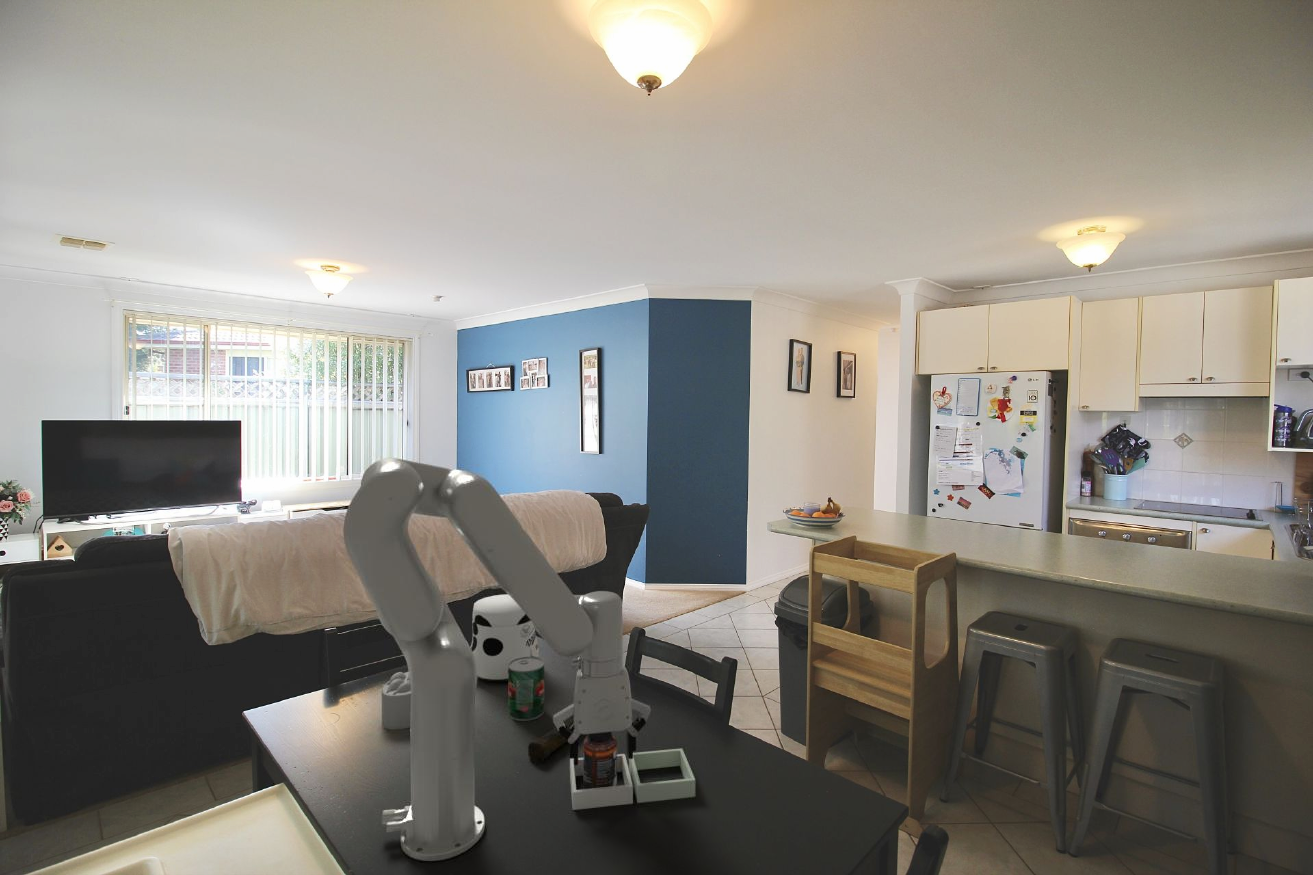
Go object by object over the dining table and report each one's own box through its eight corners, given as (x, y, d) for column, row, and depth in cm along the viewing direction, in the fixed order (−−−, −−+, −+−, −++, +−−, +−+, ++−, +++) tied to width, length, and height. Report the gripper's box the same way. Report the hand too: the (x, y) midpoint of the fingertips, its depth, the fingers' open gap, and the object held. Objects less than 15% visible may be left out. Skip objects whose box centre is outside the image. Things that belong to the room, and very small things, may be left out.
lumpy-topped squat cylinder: (449, 706, 140) (449, 668, 139) (406, 734, 128) (406, 692, 127) (413, 697, 144) (413, 661, 143) (368, 724, 132) (368, 684, 131)
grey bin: (572, 809, 104) (572, 792, 104) (569, 774, 114) (569, 758, 114) (632, 803, 106) (632, 786, 106) (624, 769, 116) (624, 753, 116)
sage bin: (637, 802, 106) (637, 785, 106) (629, 768, 116) (629, 753, 116) (695, 796, 108) (695, 779, 108) (681, 763, 118) (682, 748, 118)
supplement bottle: (623, 788, 110) (624, 726, 110) (598, 803, 106) (599, 739, 105) (601, 774, 114) (601, 714, 114) (576, 788, 110) (576, 726, 109)
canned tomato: (550, 714, 136) (550, 665, 136) (516, 724, 132) (516, 674, 131) (535, 700, 143) (535, 653, 142) (502, 709, 138) (502, 661, 138)
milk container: (552, 672, 158) (552, 603, 157) (492, 694, 146) (492, 619, 145) (514, 653, 170) (514, 589, 169) (455, 672, 158) (455, 602, 157)
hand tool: (542, 766, 117) (542, 742, 117) (526, 760, 119) (527, 736, 119) (603, 724, 133) (603, 703, 133) (588, 719, 135) (588, 698, 135)
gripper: (552, 677, 104) (554, 776, 105) (653, 668, 107) (654, 764, 108) (551, 659, 111) (553, 751, 112) (646, 651, 114) (647, 741, 115)
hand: (602, 757), depth 110 cm, fingers open, 9 cm apart
